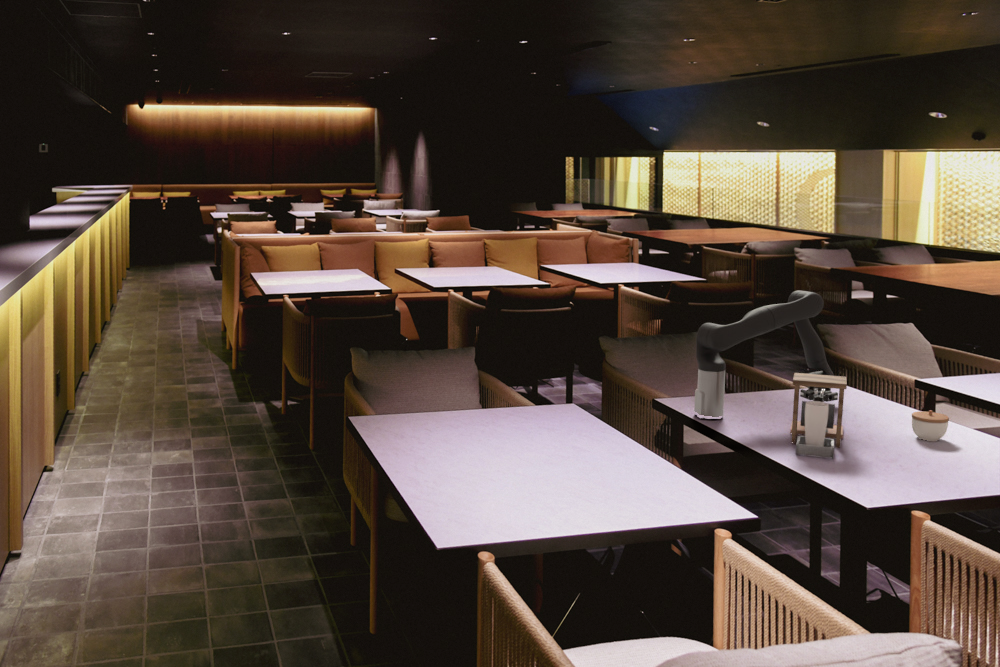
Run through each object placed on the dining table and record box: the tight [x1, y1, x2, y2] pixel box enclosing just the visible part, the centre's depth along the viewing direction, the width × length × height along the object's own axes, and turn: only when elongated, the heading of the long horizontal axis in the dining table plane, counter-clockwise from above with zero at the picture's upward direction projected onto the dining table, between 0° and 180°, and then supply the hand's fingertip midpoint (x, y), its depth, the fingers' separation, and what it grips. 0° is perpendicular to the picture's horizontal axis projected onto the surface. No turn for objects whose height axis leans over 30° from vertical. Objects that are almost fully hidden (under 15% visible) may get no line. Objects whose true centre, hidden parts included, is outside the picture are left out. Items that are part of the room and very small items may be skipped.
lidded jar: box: [911, 409, 950, 442], centre depth 277 cm, size 11×11×9 cm
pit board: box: [789, 420, 844, 440], centre depth 285 cm, size 12×16×2 cm
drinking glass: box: [804, 400, 829, 447], centre depth 263 cm, size 7×7×15 cm
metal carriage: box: [795, 400, 836, 459], centre depth 269 cm, size 26×11×11 cm, turn 159°
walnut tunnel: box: [790, 372, 848, 449], centre depth 272 cm, size 12×16×21 cm
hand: (818, 400), depth 292 cm, fingers closed
